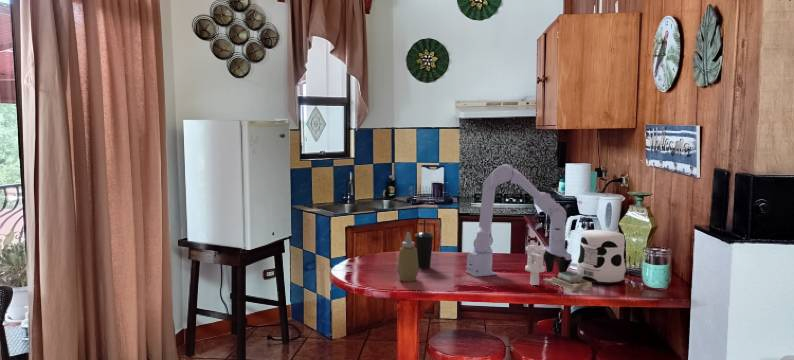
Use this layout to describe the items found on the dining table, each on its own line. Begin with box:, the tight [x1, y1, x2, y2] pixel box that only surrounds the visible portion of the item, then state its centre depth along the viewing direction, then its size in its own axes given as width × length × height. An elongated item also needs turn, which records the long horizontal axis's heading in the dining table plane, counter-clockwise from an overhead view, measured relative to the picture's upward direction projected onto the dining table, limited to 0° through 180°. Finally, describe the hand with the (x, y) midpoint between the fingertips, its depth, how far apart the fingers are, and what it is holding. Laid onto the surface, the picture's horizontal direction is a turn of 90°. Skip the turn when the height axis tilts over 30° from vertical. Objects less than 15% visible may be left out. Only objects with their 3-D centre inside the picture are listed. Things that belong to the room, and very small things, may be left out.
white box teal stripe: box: [557, 270, 582, 284], centre depth 204 cm, size 5×7×4 cm
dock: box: [542, 276, 593, 292], centre depth 206 cm, size 9×17×3 cm, turn 22°
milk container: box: [576, 229, 626, 285], centre depth 210 cm, size 17×17×18 cm
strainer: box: [524, 244, 546, 286], centre depth 205 cm, size 7×7×15 cm
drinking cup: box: [414, 218, 435, 270], centre depth 227 cm, size 8×8×20 cm
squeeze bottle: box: [397, 232, 420, 282], centre depth 209 cm, size 8×8×18 cm
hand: (555, 274), depth 211 cm, fingers open, 7 cm apart
